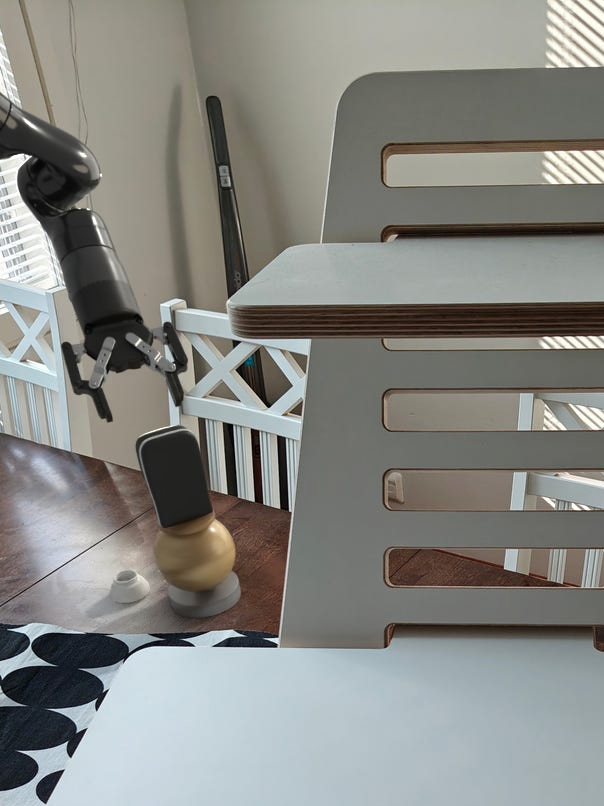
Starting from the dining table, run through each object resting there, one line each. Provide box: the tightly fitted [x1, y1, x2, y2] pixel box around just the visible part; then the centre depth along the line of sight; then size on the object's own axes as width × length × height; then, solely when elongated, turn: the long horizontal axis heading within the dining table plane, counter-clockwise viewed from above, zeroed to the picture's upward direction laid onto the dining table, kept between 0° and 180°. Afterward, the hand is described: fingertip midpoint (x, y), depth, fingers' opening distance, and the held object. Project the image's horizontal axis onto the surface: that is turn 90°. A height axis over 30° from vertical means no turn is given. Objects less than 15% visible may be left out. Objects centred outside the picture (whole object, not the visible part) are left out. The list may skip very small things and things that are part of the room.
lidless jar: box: [109, 569, 151, 604], centre depth 128 cm, size 5×3×5 cm
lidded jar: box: [152, 509, 242, 619], centre depth 124 cm, size 10×10×12 cm
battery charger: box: [134, 424, 214, 528], centre depth 117 cm, size 7×4×11 cm, turn 124°
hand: (144, 411), depth 122 cm, fingers open, 8 cm apart
